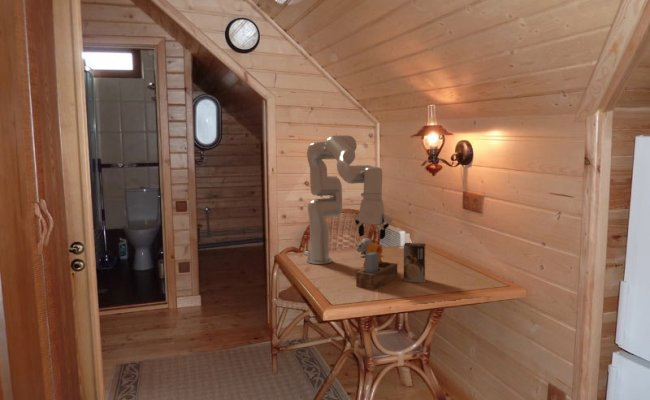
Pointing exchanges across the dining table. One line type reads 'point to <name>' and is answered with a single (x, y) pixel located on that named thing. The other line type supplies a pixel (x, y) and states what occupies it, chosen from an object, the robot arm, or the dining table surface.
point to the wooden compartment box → (377, 276)
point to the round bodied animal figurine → (363, 245)
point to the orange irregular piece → (375, 250)
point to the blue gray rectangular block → (371, 262)
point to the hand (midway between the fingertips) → (371, 237)
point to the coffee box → (414, 262)
